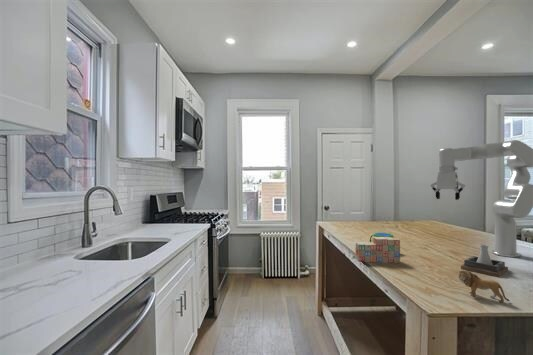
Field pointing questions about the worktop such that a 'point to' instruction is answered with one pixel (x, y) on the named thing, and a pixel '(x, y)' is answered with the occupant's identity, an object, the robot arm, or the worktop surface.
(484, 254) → the flask
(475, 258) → the board
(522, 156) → the robot arm
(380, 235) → the snack cup
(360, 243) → the stack of blocks
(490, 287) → the lion figurine
